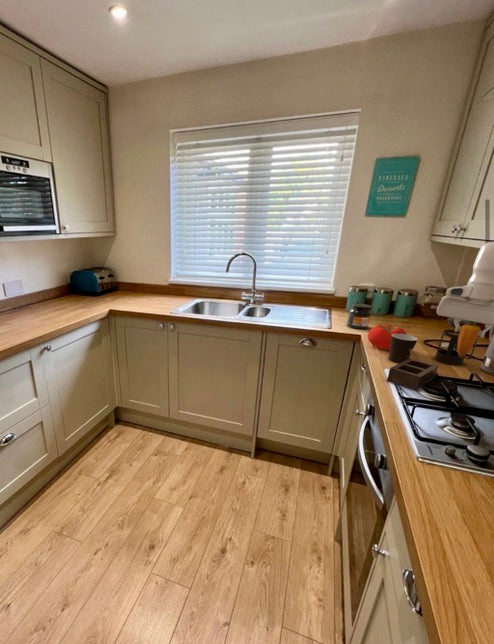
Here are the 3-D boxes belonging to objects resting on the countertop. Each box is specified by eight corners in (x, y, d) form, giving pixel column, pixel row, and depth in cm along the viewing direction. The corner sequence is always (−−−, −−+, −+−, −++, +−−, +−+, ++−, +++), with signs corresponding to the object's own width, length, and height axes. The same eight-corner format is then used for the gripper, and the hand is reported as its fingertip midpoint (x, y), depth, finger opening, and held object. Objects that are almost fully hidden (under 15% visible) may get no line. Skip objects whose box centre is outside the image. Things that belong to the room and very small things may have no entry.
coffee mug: (398, 365, 127) (405, 341, 124) (380, 357, 135) (386, 334, 131) (421, 363, 130) (429, 339, 127) (402, 355, 138) (408, 332, 134)
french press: (429, 359, 134) (446, 303, 126) (435, 354, 140) (452, 301, 132) (465, 368, 126) (486, 309, 118) (470, 363, 132) (491, 306, 124)
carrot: (468, 356, 112) (484, 313, 107) (471, 361, 108) (487, 316, 103) (450, 353, 114) (464, 311, 109) (452, 358, 110) (467, 314, 105)
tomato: (407, 348, 147) (413, 326, 144) (397, 356, 136) (403, 333, 133) (373, 340, 157) (377, 320, 153) (360, 347, 146) (365, 326, 142)
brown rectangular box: (434, 378, 116) (438, 365, 114) (416, 391, 107) (420, 377, 105) (406, 370, 123) (409, 358, 121) (386, 381, 113) (390, 367, 112)
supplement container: (367, 330, 172) (372, 308, 168) (345, 327, 177) (349, 305, 173) (368, 326, 180) (373, 304, 176) (347, 323, 185) (351, 302, 181)
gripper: (530, 297, 98) (513, 341, 103) (448, 286, 113) (436, 325, 118) (526, 299, 94) (508, 344, 99) (441, 288, 109) (429, 328, 114)
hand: (468, 334), depth 108 cm, fingers closed on carrot, 4 cm apart
